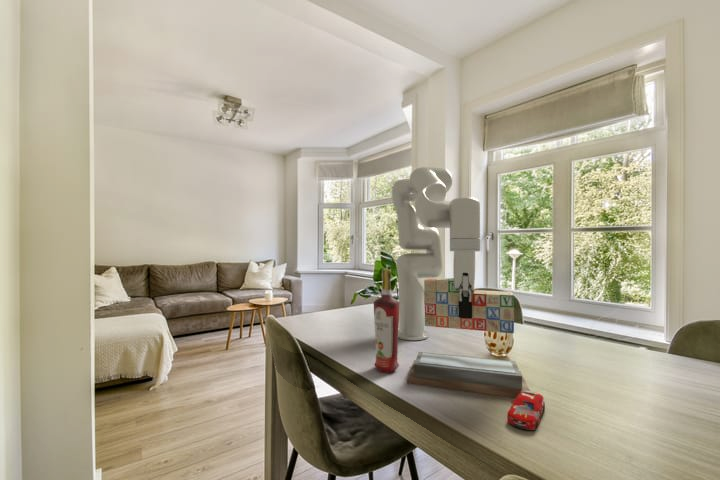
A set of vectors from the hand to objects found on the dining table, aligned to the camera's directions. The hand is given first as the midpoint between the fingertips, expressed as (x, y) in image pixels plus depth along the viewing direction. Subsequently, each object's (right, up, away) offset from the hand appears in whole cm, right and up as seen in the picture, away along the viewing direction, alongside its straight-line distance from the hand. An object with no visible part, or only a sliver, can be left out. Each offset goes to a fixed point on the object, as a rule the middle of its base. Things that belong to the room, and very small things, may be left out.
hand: (465, 314), depth 83 cm
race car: (+7, -17, -17) cm, 25 cm away
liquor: (-20, -17, +7) cm, 27 cm away
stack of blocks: (+1, -3, 0) cm, 4 cm away
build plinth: (0, -17, 0) cm, 17 cm away
